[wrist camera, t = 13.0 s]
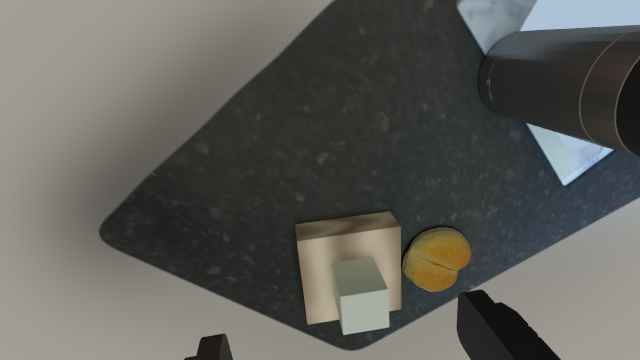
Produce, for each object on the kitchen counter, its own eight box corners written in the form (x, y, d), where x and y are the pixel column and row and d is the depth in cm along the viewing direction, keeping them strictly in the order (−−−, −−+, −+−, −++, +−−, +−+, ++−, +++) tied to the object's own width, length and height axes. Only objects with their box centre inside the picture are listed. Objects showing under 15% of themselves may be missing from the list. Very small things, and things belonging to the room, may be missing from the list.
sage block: (372, 256, 42) (388, 289, 36) (374, 290, 43) (389, 327, 38) (330, 262, 41) (340, 297, 36) (334, 297, 43) (343, 334, 37)
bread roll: (474, 237, 48) (491, 253, 44) (437, 287, 50) (450, 307, 46) (426, 213, 45) (440, 228, 42) (389, 268, 48) (399, 287, 44)
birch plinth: (389, 211, 44) (400, 226, 41) (391, 289, 49) (401, 309, 45) (294, 224, 43) (296, 241, 40) (304, 302, 48) (307, 324, 44)
